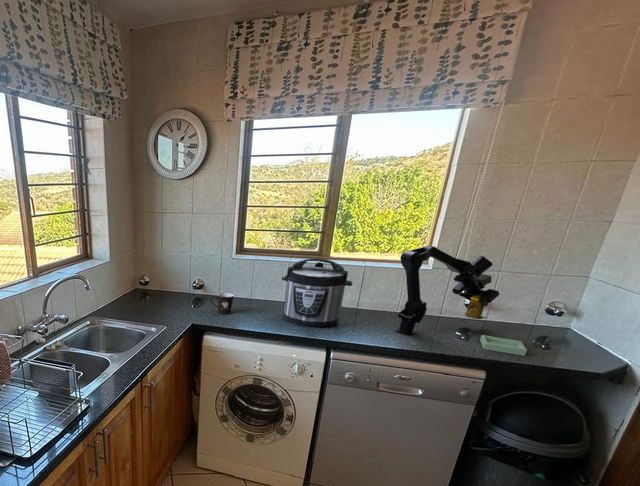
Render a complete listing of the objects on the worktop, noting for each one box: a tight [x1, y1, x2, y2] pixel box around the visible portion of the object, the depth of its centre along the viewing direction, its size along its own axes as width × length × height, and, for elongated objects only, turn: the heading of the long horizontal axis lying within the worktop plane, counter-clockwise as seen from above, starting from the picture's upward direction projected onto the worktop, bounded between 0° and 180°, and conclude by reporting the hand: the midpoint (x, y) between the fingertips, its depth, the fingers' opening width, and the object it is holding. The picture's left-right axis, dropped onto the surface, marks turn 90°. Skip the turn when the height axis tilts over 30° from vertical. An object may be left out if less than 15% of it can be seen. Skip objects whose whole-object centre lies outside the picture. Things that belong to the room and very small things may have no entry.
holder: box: [479, 334, 528, 357], centre depth 174 cm, size 14×13×3 cm
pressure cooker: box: [281, 258, 353, 328], centre depth 203 cm, size 30×28×32 cm
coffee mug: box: [209, 292, 235, 315], centre depth 219 cm, size 12×9×10 cm
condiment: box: [461, 295, 487, 321], centre depth 192 cm, size 7×8×12 cm
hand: (480, 303), depth 192 cm, fingers closed on condiment, 6 cm apart
